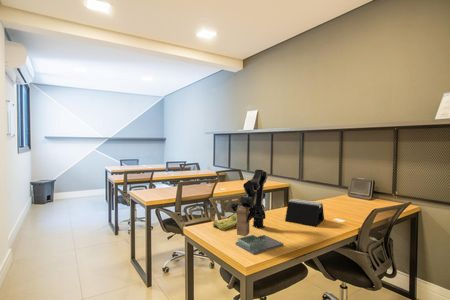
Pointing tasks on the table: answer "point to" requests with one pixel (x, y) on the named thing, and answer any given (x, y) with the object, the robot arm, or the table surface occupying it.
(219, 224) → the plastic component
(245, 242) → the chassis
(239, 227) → the tall wooden pillar
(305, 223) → the device stand
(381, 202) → the table surface
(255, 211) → the robot arm
